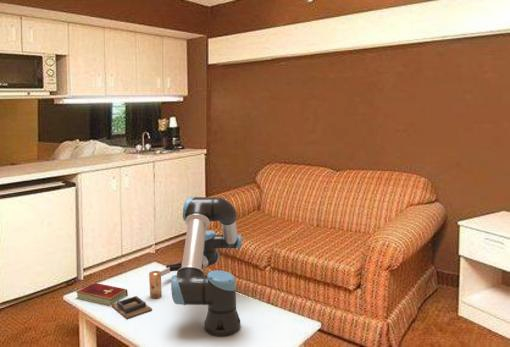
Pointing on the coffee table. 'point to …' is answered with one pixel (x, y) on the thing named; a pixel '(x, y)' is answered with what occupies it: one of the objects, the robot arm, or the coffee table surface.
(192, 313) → the coffee table surface
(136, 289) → the coffee table surface
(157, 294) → the brushed copper cylinder
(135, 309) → the duct base
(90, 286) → the hardcover book
